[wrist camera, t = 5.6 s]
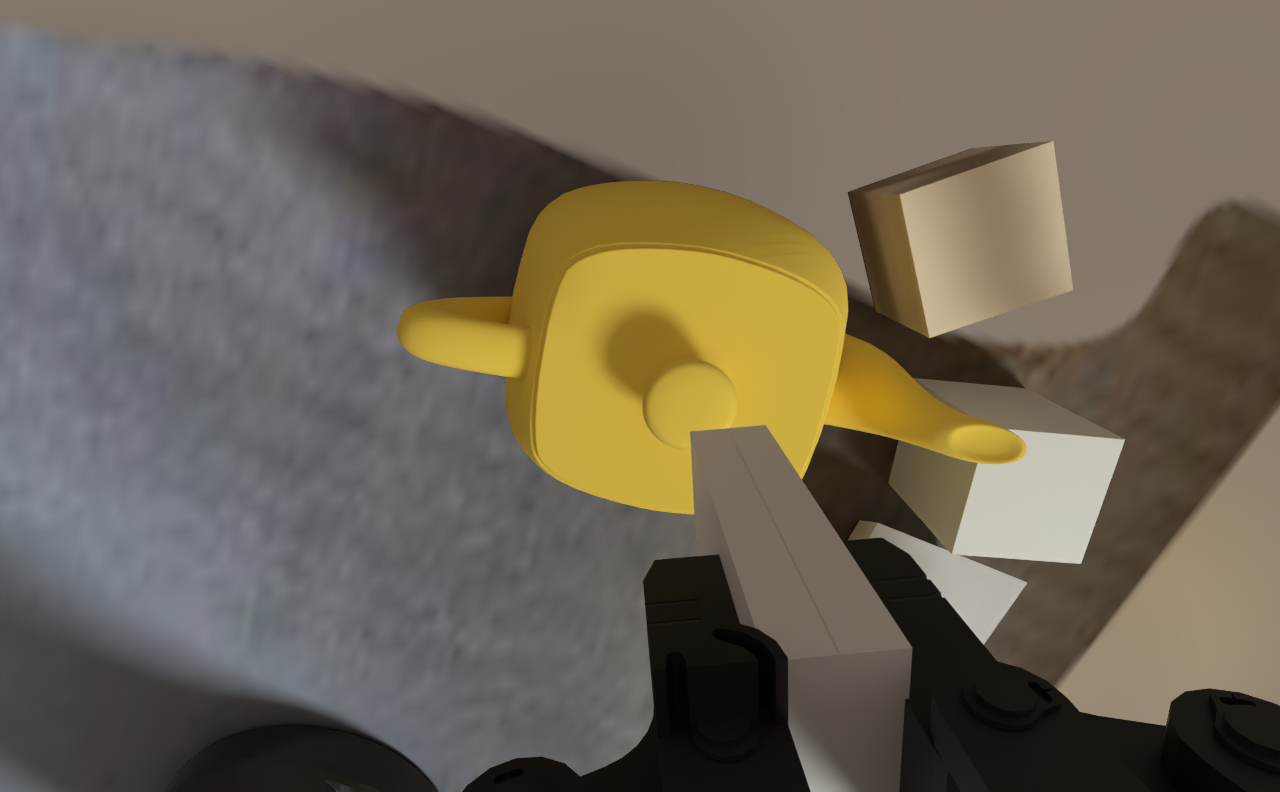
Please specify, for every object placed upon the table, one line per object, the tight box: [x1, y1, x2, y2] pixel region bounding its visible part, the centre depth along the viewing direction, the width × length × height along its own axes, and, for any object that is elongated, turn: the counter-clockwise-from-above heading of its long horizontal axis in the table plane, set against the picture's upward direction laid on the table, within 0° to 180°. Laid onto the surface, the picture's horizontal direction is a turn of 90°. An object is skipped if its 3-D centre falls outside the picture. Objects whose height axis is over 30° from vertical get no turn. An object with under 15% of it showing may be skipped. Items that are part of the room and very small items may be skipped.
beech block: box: [848, 141, 1073, 338], centre depth 24 cm, size 5×5×5 cm
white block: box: [888, 378, 1125, 564], centre depth 27 cm, size 5×5×6 cm
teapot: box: [397, 180, 1027, 514], centre depth 22 cm, size 18×11×11 cm, turn 79°
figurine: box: [848, 520, 1027, 645], centre depth 24 cm, size 7×9×15 cm
